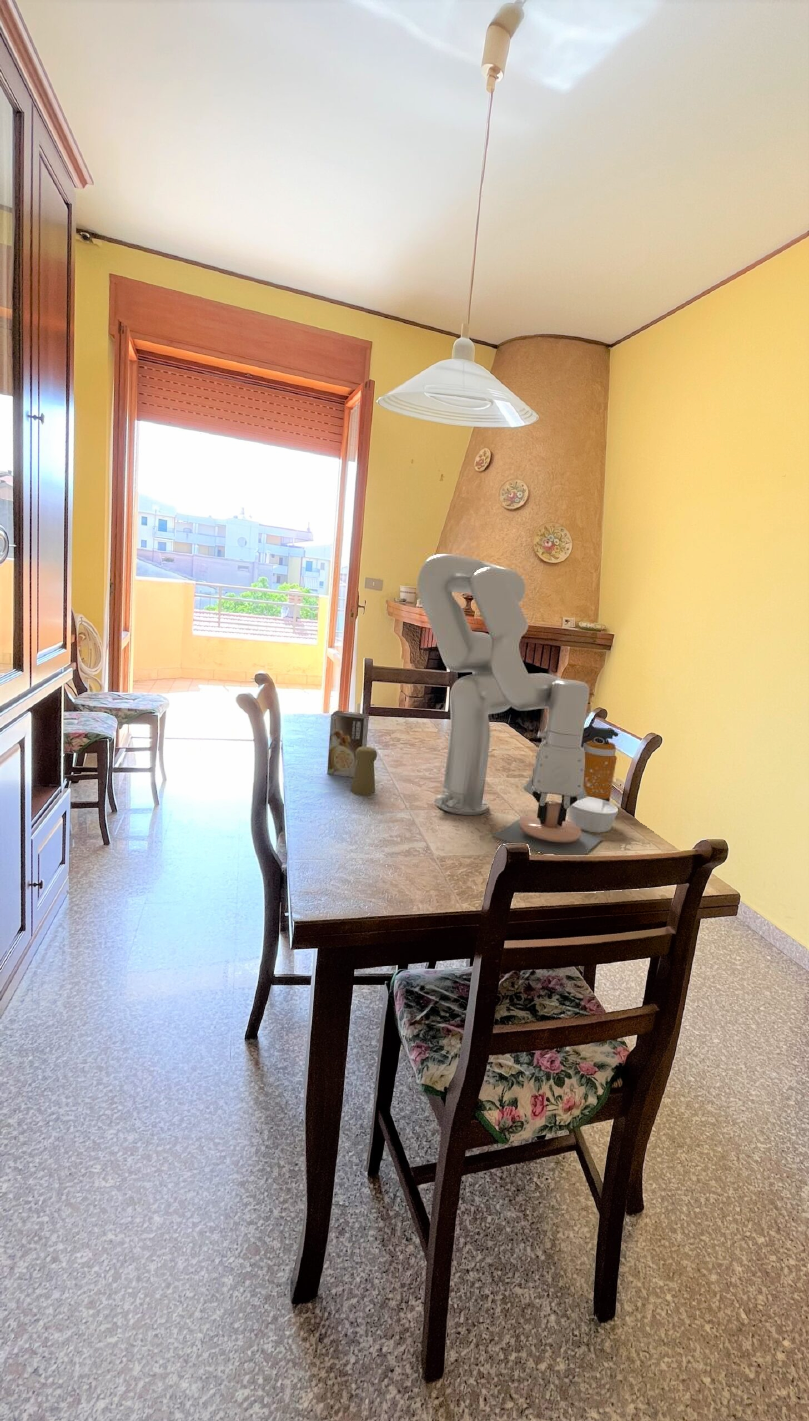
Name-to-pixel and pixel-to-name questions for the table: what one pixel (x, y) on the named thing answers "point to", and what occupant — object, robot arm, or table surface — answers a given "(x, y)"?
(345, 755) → the coffee box
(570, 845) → the mat
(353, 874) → the table surface
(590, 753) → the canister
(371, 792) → the cork
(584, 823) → the ramekin
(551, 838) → the lid
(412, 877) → the table surface
